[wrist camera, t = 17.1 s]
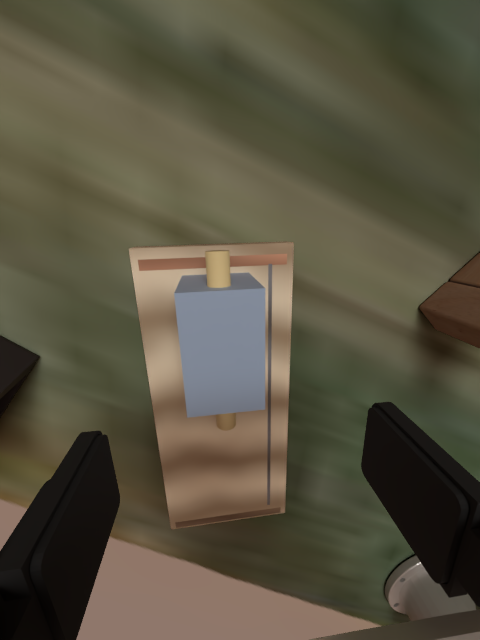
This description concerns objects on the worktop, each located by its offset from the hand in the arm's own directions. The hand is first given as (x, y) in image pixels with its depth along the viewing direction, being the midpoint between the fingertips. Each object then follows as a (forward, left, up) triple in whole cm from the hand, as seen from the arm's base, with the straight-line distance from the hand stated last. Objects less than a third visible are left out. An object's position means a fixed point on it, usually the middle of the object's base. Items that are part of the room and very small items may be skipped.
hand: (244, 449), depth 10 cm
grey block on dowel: (0, 0, -13) cm, 13 cm away
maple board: (-8, 0, -15) cm, 17 cm away
